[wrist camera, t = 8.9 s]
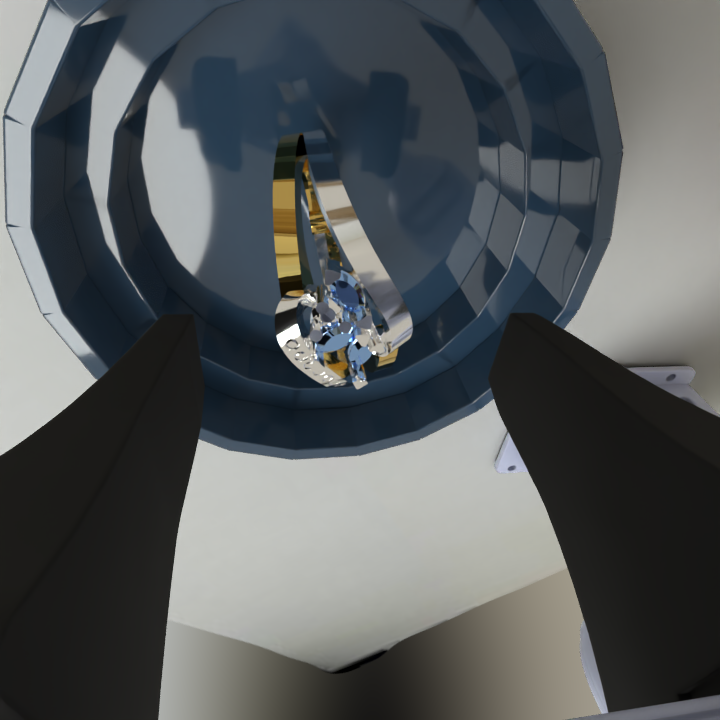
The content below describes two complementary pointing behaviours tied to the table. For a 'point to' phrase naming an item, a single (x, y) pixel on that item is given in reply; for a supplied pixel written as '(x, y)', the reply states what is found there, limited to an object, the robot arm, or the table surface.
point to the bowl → (255, 191)
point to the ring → (329, 273)
